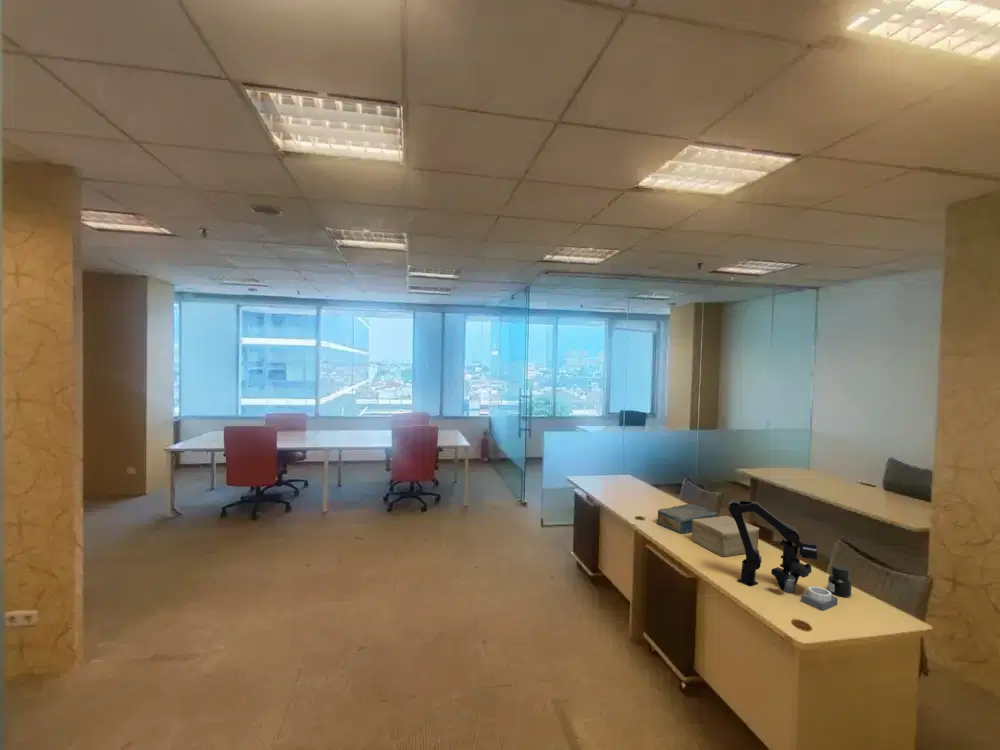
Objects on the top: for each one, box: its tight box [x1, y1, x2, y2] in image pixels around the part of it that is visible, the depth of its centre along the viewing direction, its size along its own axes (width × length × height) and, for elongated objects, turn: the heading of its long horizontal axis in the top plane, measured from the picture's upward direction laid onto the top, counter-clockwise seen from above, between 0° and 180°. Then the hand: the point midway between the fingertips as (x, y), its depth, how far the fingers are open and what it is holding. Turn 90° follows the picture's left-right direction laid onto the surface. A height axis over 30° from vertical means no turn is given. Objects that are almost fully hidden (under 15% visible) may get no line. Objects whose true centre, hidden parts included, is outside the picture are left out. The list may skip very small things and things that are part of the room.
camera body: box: [800, 586, 839, 612], centre depth 218 cm, size 12×9×6 cm
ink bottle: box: [827, 564, 853, 598], centre depth 228 cm, size 10×9×12 cm
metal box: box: [656, 503, 719, 535], centre depth 314 cm, size 21×32×10 cm, turn 119°
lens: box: [781, 573, 796, 595], centre depth 229 cm, size 5×5×7 cm
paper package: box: [691, 515, 760, 558], centre depth 281 cm, size 27×26×14 cm
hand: (788, 588), depth 229 cm, fingers open, 9 cm apart
